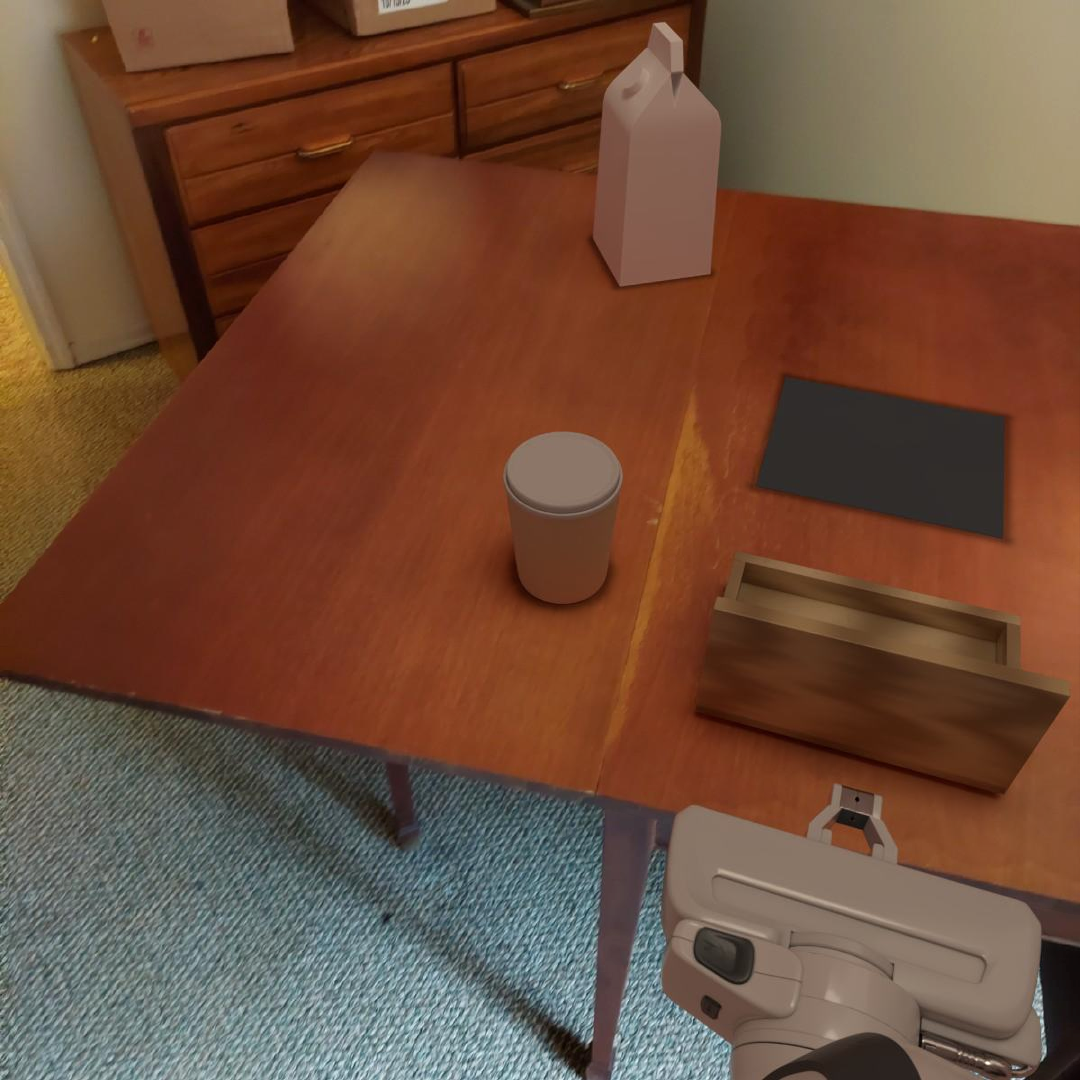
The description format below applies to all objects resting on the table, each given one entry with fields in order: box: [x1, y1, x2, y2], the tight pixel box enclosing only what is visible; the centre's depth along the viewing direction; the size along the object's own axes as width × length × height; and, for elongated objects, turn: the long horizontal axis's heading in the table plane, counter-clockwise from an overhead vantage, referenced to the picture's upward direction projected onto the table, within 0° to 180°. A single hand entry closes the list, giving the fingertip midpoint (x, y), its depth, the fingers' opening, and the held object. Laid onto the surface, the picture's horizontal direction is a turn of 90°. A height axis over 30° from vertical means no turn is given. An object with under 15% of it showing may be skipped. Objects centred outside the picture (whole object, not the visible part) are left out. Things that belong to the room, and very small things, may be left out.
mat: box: [755, 376, 1005, 540], centre depth 93 cm, size 22×18×1 cm
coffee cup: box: [502, 431, 624, 605], centre depth 78 cm, size 9×9×12 cm
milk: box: [592, 21, 722, 288], centre depth 110 cm, size 12×12×26 cm
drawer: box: [694, 550, 1071, 795], centre depth 70 cm, size 22×14×13 cm, turn 71°
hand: (855, 793), depth 58 cm, fingers closed
